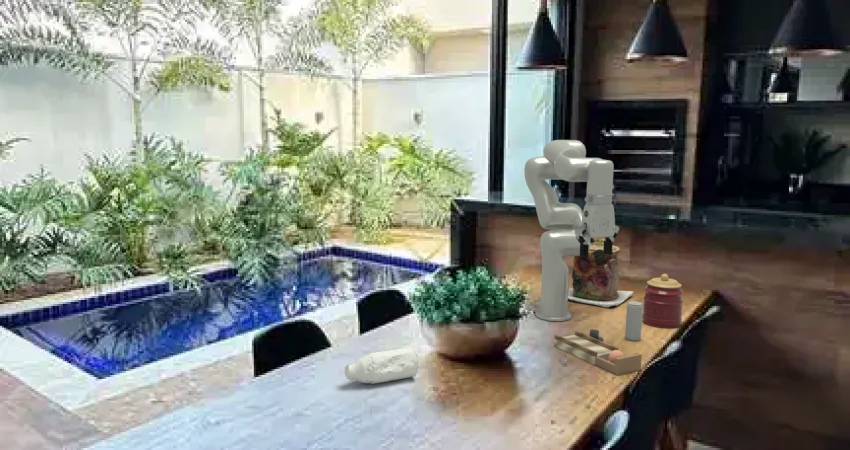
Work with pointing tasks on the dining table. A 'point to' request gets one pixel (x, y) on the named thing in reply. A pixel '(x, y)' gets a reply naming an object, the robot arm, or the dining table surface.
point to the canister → (663, 302)
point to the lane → (584, 346)
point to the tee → (595, 334)
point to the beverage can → (633, 321)
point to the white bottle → (384, 366)
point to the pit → (621, 364)
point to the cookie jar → (597, 277)
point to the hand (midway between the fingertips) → (595, 255)
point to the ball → (615, 355)
